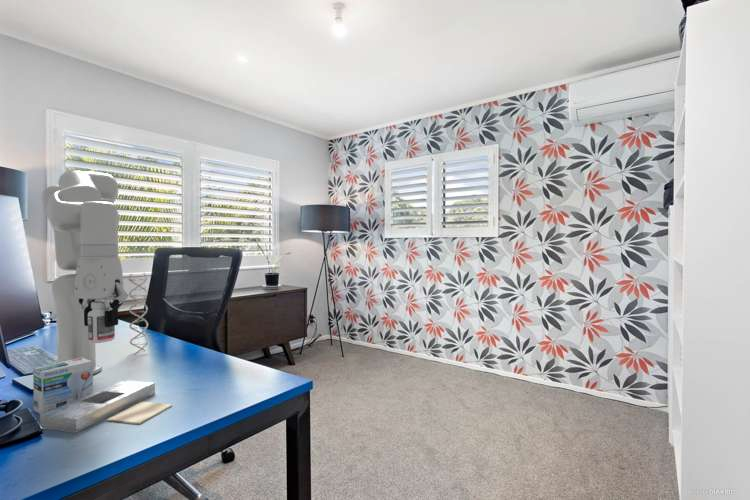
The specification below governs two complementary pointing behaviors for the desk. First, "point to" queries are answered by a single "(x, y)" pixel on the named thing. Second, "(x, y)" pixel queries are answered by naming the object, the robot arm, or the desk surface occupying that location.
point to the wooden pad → (139, 413)
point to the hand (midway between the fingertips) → (101, 324)
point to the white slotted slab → (96, 406)
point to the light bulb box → (61, 383)
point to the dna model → (140, 311)
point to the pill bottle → (99, 324)
